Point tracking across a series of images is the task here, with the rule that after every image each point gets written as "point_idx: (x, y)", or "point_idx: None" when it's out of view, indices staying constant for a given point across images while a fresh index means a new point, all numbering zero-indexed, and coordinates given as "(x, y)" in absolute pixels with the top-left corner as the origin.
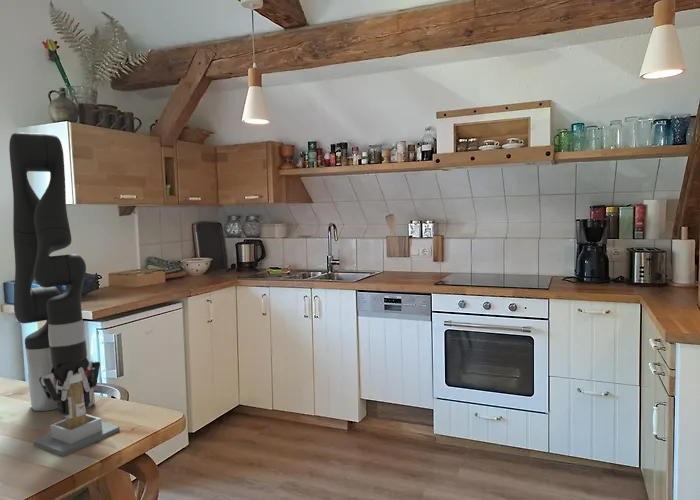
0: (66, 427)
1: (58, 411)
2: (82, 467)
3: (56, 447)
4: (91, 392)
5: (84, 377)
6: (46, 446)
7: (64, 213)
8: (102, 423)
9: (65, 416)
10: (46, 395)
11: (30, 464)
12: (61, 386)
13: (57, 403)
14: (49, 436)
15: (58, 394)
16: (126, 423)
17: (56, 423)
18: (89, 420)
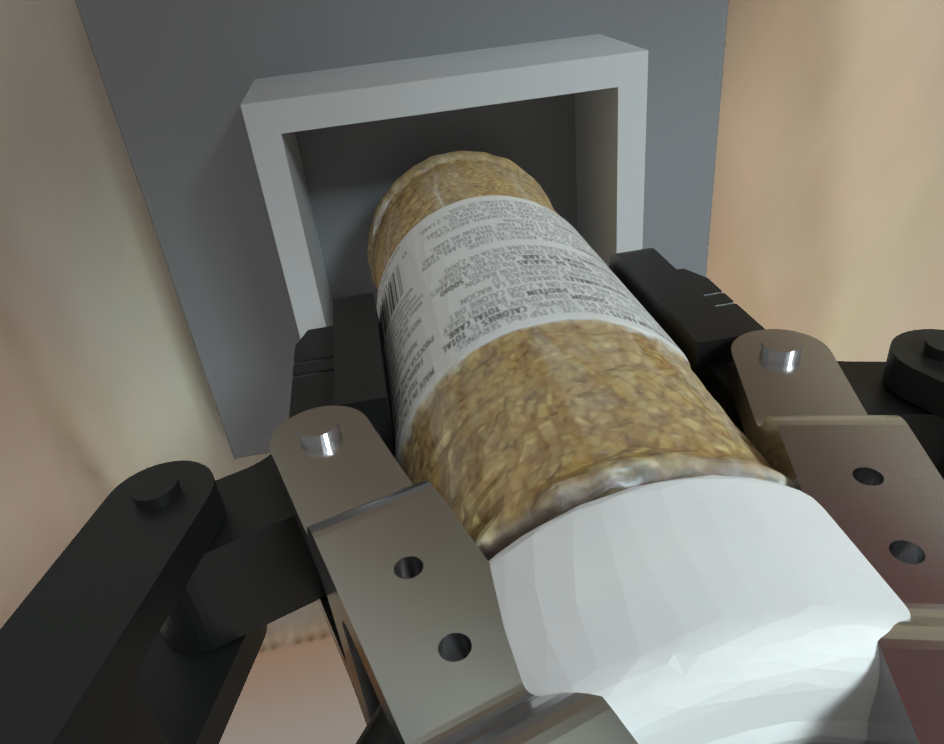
0: (378, 216)
1: (296, 352)
2: (275, 630)
3: (220, 344)
4: None
5: None
6: (160, 241)
7: None
8: (690, 195)
9: (378, 295)
10: (73, 550)
11: (3, 377)
12: (369, 704)
13: (291, 409)
14: (243, 32)
15: (303, 557)
16: (798, 274)
17: (310, 120)
18: (601, 229)
